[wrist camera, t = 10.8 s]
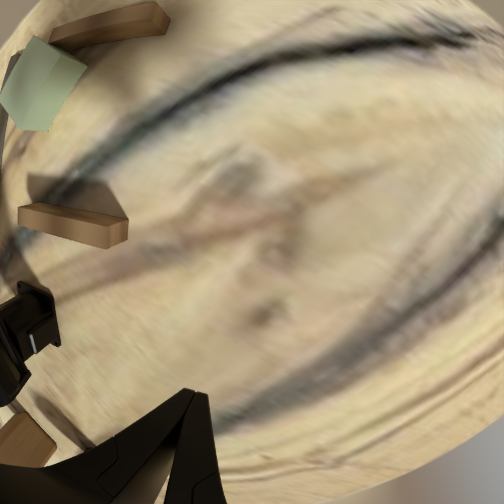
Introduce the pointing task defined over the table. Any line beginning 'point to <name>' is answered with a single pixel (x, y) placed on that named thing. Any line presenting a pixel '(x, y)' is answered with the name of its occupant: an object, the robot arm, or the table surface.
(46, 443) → the wooden block
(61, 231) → the set of wooden bars
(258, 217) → the table surface
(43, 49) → the sage block
